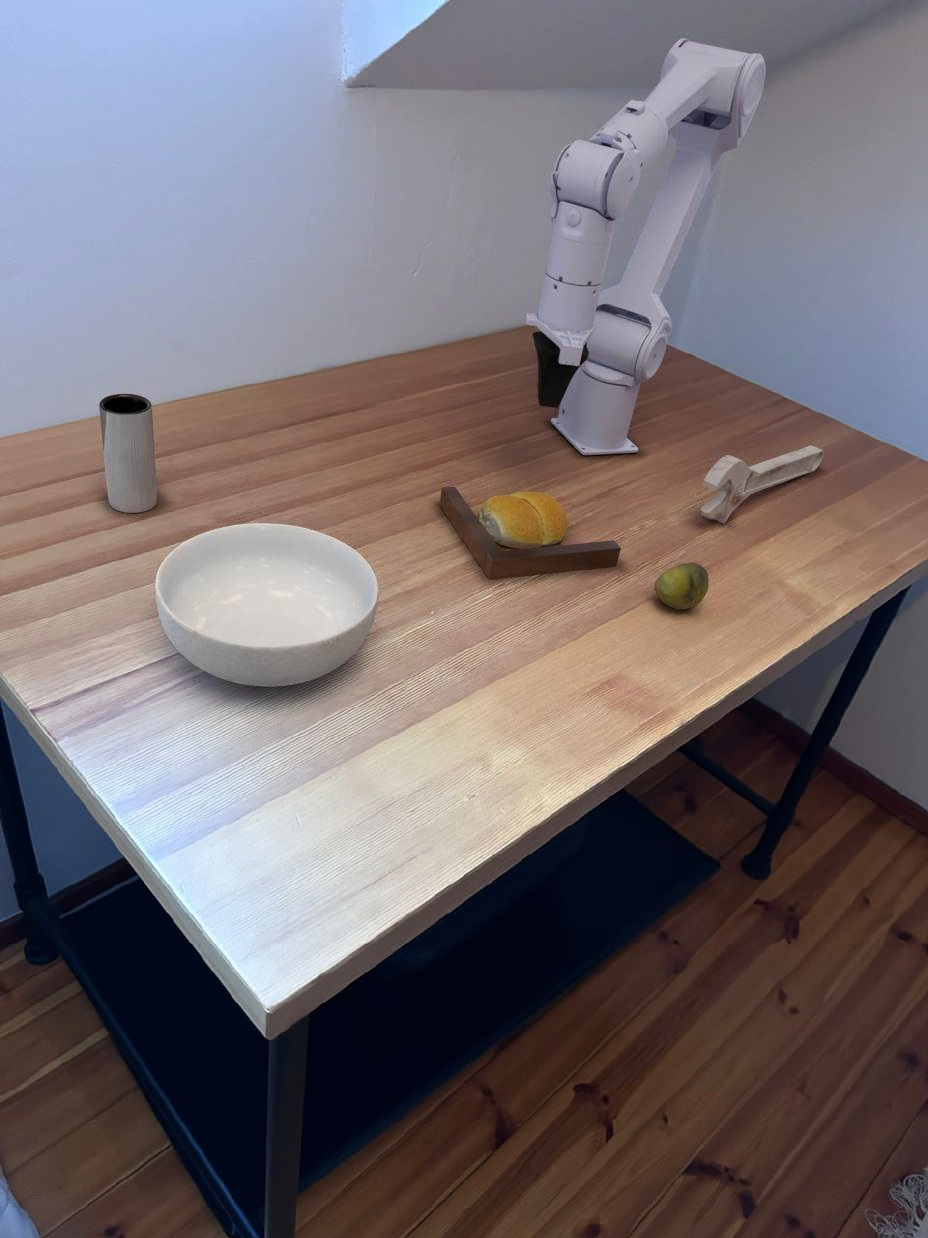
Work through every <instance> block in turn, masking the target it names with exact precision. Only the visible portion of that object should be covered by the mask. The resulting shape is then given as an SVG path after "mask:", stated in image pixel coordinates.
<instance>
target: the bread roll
mask: <svg viewBox="0 0 928 1238" xmlns="http://www.w3.org/2000/svg"><path fill="white" fill-rule="evenodd" d="M478 520H479V521H480V522H481V524H482V525H483V527H484V528H485V529H486V531H487V532H488V534H489V535H490V536H491V538H492V539H493V541H494V542H495V543H497V545H500V546H502V547H503V546H504V547H506V548H512V549H526V548H537V547H548V546H554V545H555V544H557V543H560V542H562V541H563V540H564V538H565V536H566V534H567V531H568V527H569V525H568V524H569V522H568V521H569V520H568V516H567V513H566V511H565V509H564V508H563V506H562V505H561V504H560V503H559V501H557V499H555V498H554V497H553V496H551V495H549V494H547V493H543V492H538V491H523V490H520V491H516V492H513V493H511V494H497V495H492V496H490V497H489V498H488V499H487V500H485V502H483V504H482V505H481V507H480V510H479V513H478Z"/></svg>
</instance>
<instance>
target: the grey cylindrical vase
mask: <svg viewBox="0 0 928 1238" xmlns="http://www.w3.org/2000/svg"><path fill="white" fill-rule="evenodd" d="M152 405H153V404H152V402H151V401H150V400H149V399H148V398H147V397H144V396H141V395H139V394H135V393H115V394H110V395H107V396H105V397H103V398H102V399H101V400H100V401H99V404H98V407H99V409H98V410H99V419H100V431H101V441H102V449H103V450H102V451H103V459H104V460H103V461H104V469H105V471H104V472H105V480H106V481H105V482H106V490H107V499H108V504H109V506H110V507H111V508H112V509H114V510H116V511H118V512H121V513H127V514H137V513H144V512H147V511H149V510H151V509H153V508H154V507H155V506H156V505H157V504H158V484H157V471H156V470H157V467H156V466H157V465H156V452H155V451H156V450H155V437H154V435H155V434H154V420H153V406H152Z"/></svg>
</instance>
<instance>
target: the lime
mask: <svg viewBox="0 0 928 1238" xmlns="http://www.w3.org/2000/svg"><path fill="white" fill-rule="evenodd" d="M709 580H710V579H709V573H708V570H707V568H705V567H704V566H703V565H701V564H699V563H697V562H687V563H680V564H677V565H676V566H673V567H671V568H669V569H668V570H666V571H664V572H663V573H661V575H660V576H659V577H658V578H657V579H656V580H655V582H654V592H655V595H656V596H657V598H658V599H659V600H660V601H661V602H662V603H663V604H665V605H667V606H669V607H671V608H672V609H676V610H686V609H690V608H694V607H695V606H697V605H698V604H700V603H702V601H703V600H704V598H705V596H706V595H707V593H708V591H709V585H710V584H709V583H710V581H709Z"/></svg>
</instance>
